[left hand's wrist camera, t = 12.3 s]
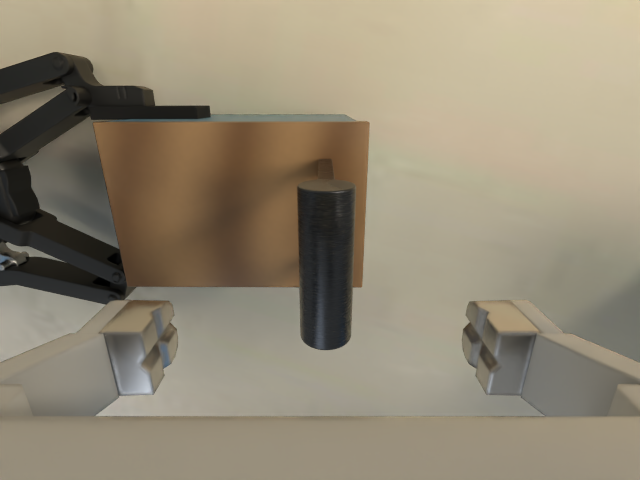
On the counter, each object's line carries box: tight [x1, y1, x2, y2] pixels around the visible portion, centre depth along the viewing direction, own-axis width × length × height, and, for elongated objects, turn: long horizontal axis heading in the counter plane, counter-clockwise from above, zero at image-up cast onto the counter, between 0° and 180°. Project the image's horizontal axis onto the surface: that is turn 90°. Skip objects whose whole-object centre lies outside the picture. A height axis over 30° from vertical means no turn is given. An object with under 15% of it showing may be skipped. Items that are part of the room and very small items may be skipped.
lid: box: [93, 121, 369, 350], centre depth 17 cm, size 14×10×9 cm
